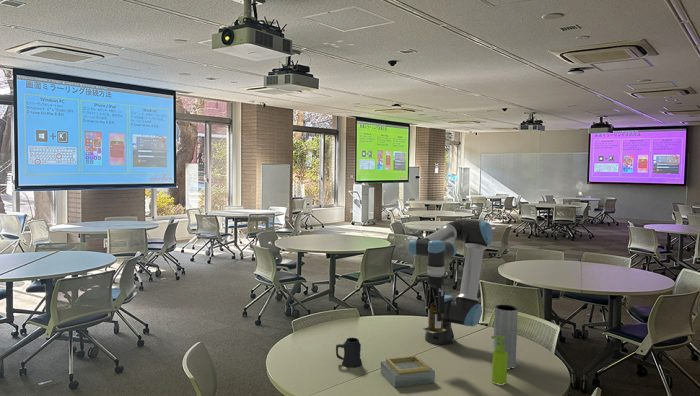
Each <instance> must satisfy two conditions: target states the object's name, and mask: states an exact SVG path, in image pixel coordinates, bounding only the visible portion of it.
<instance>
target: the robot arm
mask: <svg viewBox="0 0 700 396" xmlns="http://www.w3.org/2000/svg"><path fill="white" fill-rule="evenodd" d="M493 240H494V233H493V228H492V225H491V223H490V222H487V221H485V220H484V221H483V220H468V219H456V220H453V221H450V222H447V223H446V224H443V225H442V226H441V227H440V229H438V230H437V231H434V232H432V233H431V234H428V235H427V236H425V237H423V238H420V239H418V238H417V239H415V238H414V239H410V241H409V242H408V246H407V247H408V248H407V250H408V253H409V254H410V255H412V256H419V257H427V268H426V270H427V278H426V280H427V281H426V283H427V284H428V285H427V284H426V289H425V290H426V293H425V294H426V295H425V307H427V310H428V311H427V324H428V325H427V327H429V319H430V308H431V303H434V302H435V306H436V313H435V328H441V314H443V329H445V330H446V331H442V332H436V333H430V332H428V331H426V330H425V333H424V334H425V335H424V339H425V341H426V342H427V343H431V344H435V345H450V344H453V343H454V342H455V334H454V331H453V328H452V324H456V325H461V326H466V327H475V326H477V325H478V323H479V322H480V320H481V317H482V315H483V314H482V313H483V310H482V309H483V306H482V304H480V300H479V298H478V291H479V284H480V278H481V270H482V263H483V257H484V253H485V252H484V251H485V250H487V249H488V246H489V245H491V244H492V242H493ZM453 242H462V243H464V247H466V252H465V259H464V264H463V271H462V278H461V283H460V291H459V294H458V295H456V296H455V297H456V298H455V299H453V296H452V295H448V294H446V292H445V291H443V289H442V285H444V284H445V276H444V275H445V267H446V266H445V264H446V263H445V262H446V261H445V260H449V259H451V258H453V257H455V256H456V254H457V252H458V249H457V246H456V244H455V243H453Z"/></svg>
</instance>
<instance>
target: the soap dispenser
mask: <svg viewBox="0 0 700 396" xmlns="http://www.w3.org/2000/svg"><path fill="white" fill-rule="evenodd" d="M490 338H491V339H492V340H494V339H495V338H499V341H498V343H496V350H494V351H493V350H492V364H491V365H492V367H491V369H492V370H491V382H492V381H493V382H495V383H499V384H503V383H506V384H507V378H508V377H507V375H508V369H507V352H506V351H504V349H505V344H503V339H505V337H504V336H499V335H496V336H494V335H491V336H490Z"/></svg>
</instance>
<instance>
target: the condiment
mask: <svg viewBox="0 0 700 396" xmlns="http://www.w3.org/2000/svg"><path fill="white" fill-rule="evenodd" d="M435 313H436V306H435V302H434V303H431V308H430V319H429V324H428V325H429V327H428V326H427V327H423V328H421V329H422V330H424V331H425V332H426V331H428V332H430V333H436V332H442V331H446V330H445V329H443V314H441V328H435Z"/></svg>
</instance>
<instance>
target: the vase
mask: <svg viewBox="0 0 700 396" xmlns="http://www.w3.org/2000/svg"><path fill="white" fill-rule="evenodd" d="M518 314H519V312H518V308H517V306H514V305H509V304H497V305H495V306H494V317H493V318H494V322H493V324H494V325H493V326H494V327H493V336H496V335H499V336H504V337H505V339H503V344H505V349H504V351H506V352H507V368H512V367H515V368H516V366H515V365H516V363H517V361H516V360H517V340H518V339H517V337H518ZM498 341H499V338H495V339H493V350H492V352H493V351H494V350H496V343H498Z"/></svg>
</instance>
